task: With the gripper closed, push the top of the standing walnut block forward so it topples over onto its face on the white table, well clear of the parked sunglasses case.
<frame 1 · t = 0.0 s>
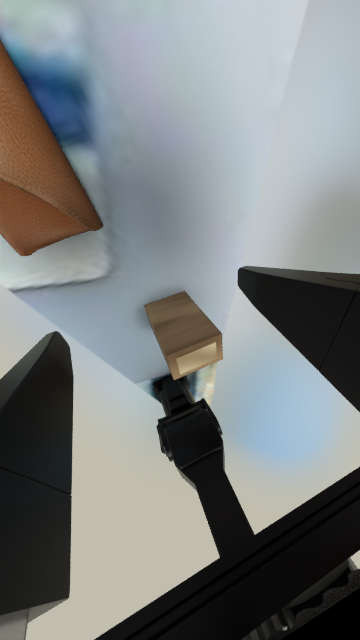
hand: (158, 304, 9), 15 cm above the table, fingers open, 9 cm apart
walnut block: (167, 309, 28), on the table
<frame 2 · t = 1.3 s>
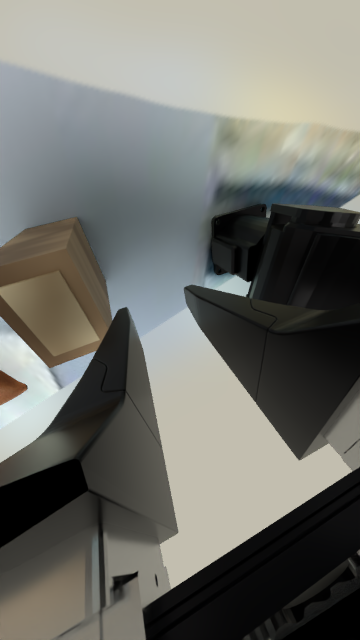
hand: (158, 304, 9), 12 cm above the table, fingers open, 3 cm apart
walnut block: (70, 258, 18), on the table
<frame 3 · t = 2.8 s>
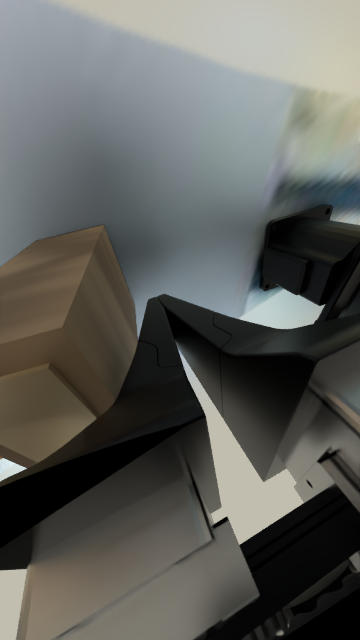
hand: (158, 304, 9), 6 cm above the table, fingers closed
walnut block: (92, 278, 13), on the table, tilted 8°
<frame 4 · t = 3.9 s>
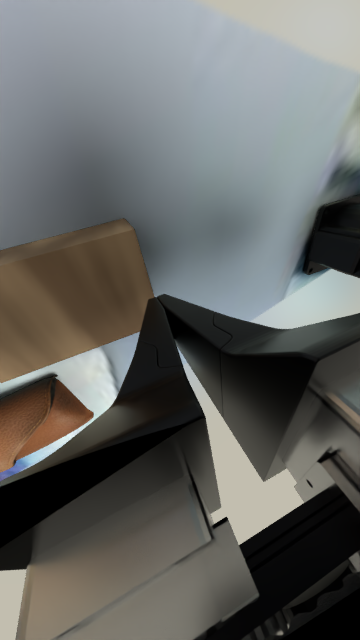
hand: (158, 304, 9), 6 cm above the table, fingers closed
walnut block: (143, 271, 13), point 2 cm above the table, tilted 90°
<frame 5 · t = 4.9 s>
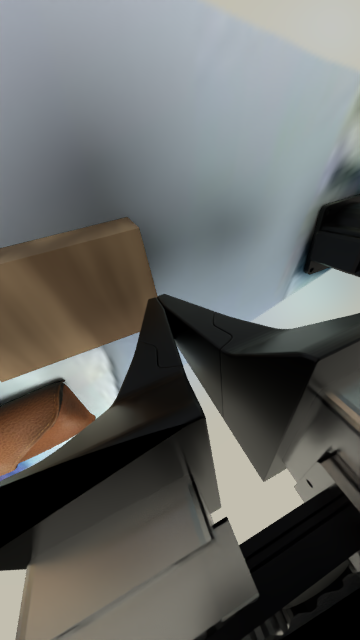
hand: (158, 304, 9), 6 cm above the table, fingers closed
walnut block: (146, 270, 13), point 2 cm above the table, tilted 90°
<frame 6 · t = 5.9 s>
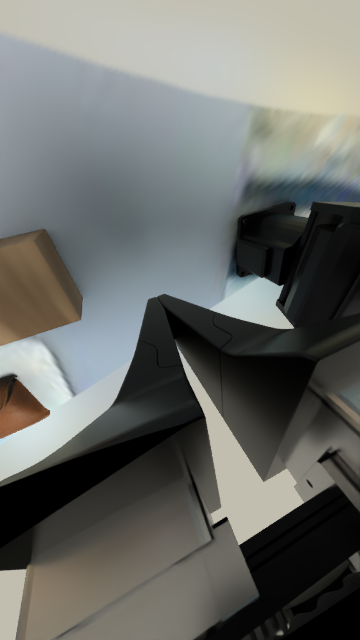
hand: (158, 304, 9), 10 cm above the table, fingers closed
walnut block: (63, 275, 15), point 2 cm above the table, tilted 90°
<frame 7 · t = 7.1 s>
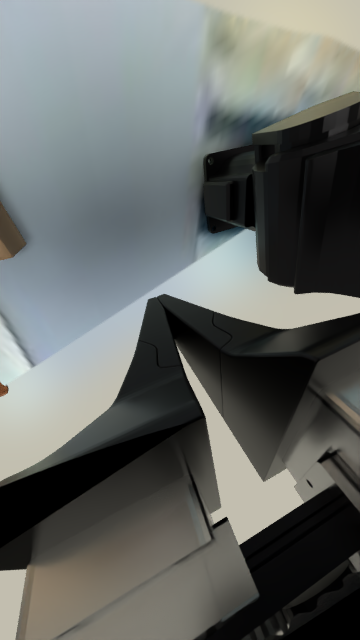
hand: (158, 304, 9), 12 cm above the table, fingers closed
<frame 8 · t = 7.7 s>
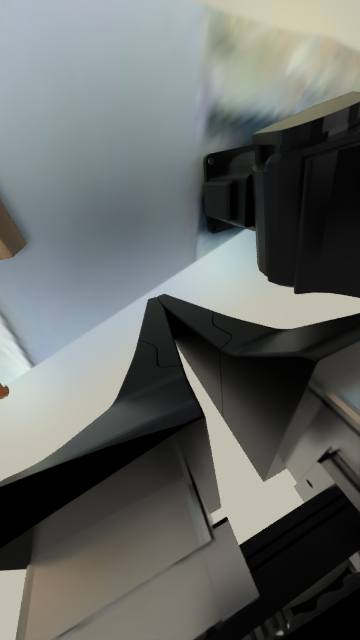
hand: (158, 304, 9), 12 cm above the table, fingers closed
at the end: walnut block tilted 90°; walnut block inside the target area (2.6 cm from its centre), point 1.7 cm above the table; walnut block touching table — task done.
